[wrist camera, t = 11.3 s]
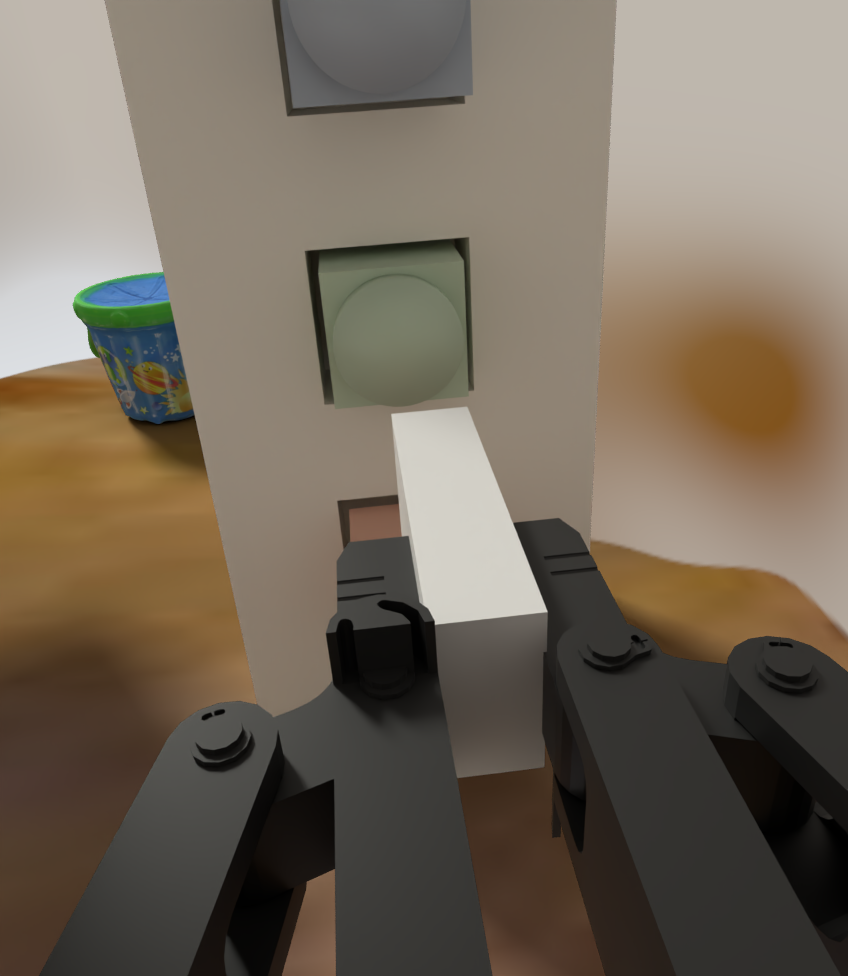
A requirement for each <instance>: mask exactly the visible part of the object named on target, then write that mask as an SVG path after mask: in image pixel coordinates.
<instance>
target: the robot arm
mask: <svg viewBox="0 0 848 976" xmlns="http://www.w3.org/2000/svg"><path fill="white" fill-rule="evenodd" d="M391 417H392V429H393V440H394V452H395V464H396V475H397V487H398V499H399V510H400V522H401V533H402V537H393V538H383V539H374V540H365V541H355V542H349V543H348V544H347V546H346V547H345V549H344V550H343V552H342V553H341V555H340V556H339V558H338V560H337V613H336V614H335V615H334V616H333V617H332V618H331V619H330V621H329V624H328V627H327V630H326V639H327V646H328V652H329V659H330V666H331V672H332V681H331V683H330V684H329V685H328V687H327V688H326V689H325V690H324V691H323V692H322V693H321V694H320V695H318V696H317V697H316V698H314V699H313V700H312V701H310V702H309V703H307V704H304V705H302V706H300V707H298V708H296V709H294V710H291V711H289V712H286V713H283V714H281V715H278V716H275V717H273V716H272V714H270V713H269V712H267V711H266V710H265V709H263V708H262V707H260V706H259V705H256V704H251V703H246V702H242V701H236V702H225V703H218V704H215V705H212V706H209V707H207V708H204V709H201V710H198V711H197V712H195V713H194V714H193V715H191V716H190V717H188V718H187V719H185V720H184V721H182V722H181V723H180V724H179V725H178V726H177V728H176V729H175V730H174V731H173V733H172V734H171V735H170V736H169V738H168V739H167V741H166V743H165V744H164V746H163V748H162V750H161V752H160V754H159V756H158V757H157V759H156V761H155V763H154V765H153V767H152V768H151V770H150V772H149V774H148V776H147V778H146V779H145V781H144V783H143V785H142V787H141V789H140V791H139V792H138V794H137V796H136V798H135V800H134V802H133V803H132V805H131V807H130V809H129V811H128V813H127V814H126V816H125V818H124V820H123V822H122V824H121V826H120V827H119V829H118V831H117V833H116V835H115V837H114V838H113V840H112V842H111V844H110V846H109V848H108V850H107V851H106V853H105V855H104V857H103V859H102V861H101V862H100V864H99V866H98V868H97V870H96V872H95V873H94V875H93V877H92V879H91V881H90V883H89V885H88V886H87V888H86V890H85V892H84V894H83V896H82V897H81V899H80V901H79V903H78V905H77V907H76V908H75V910H74V912H73V914H72V916H71V918H70V920H69V921H68V923H67V925H66V927H65V929H64V931H63V932H62V934H61V936H60V938H59V940H58V942H57V943H56V945H55V947H54V949H53V951H52V953H51V955H50V956H49V958H48V960H47V962H46V964H45V966H44V967H43V969H42V971H41V973H40V975H39V976H282V972H283V969H284V965H285V962H286V958H287V955H288V951H289V947H290V944H291V940H292V937H293V933H294V930H295V926H296V923H297V919H298V916H299V912H300V909H301V905H302V902H303V898H304V894H305V891H306V882H307V881H309V880H311V879H314V878H316V877H318V876H320V875H322V874H324V873H327V872H329V871H331V870H333V869H335V910H336V976H492V971H491V965H490V960H489V954H488V948H487V943H486V937H485V932H484V926H483V921H482V915H481V909H480V904H479V898H478V893H477V887H476V881H475V876H474V870H473V865H472V859H471V854H470V848H469V842H468V837H467V831H466V826H465V820H464V814H463V809H462V803H461V798H460V792H459V787H458V781H457V778H463V777H471V776H479V775H487V774H495V773H503V772H510V771H518V770H526V769H534V768H542V767H544V763H545V744H546V747H547V750H548V753H549V757H550V760H551V763H552V766H553V792H552V838H554V837H560V834H561V827H562V830H563V833H564V837H565V840H566V843H567V847H568V850H569V854H570V857H571V860H572V864H573V867H574V870H575V874H576V877H577V881H578V884H579V887H580V891H581V894H582V897H583V901H584V904H585V907H586V911H587V914H588V918H589V921H590V924H591V928H592V931H593V934H594V938H595V941H596V945H597V948H598V951H599V955H600V958H601V961H602V965H603V968H604V971H605V975H606V976H848V672H847V671H846V670H845V669H844V668H842V667H841V666H840V665H839V664H837V663H836V662H835V661H834V660H832V659H831V658H830V657H829V656H827V655H825V654H824V653H822V652H820V651H819V650H817V649H816V648H814V647H812V646H811V645H808V644H805V643H802V642H799V641H796V640H793V639H790V638H781V637H771V636H765V637H758V638H751V639H748V640H746V641H744V642H742V643H740V644H738V645H737V646H735V647H734V649H733V650H732V652H731V654H730V655H729V657H728V661H727V664H721V663H712V662H703V661H695V660H688V659H683V658H677V657H673V656H670V655H667V654H664V653H662V651H661V649H660V648H659V646H658V645H657V644H656V643H655V641H654V640H653V639H652V638H651V637H650V636H649V635H648V634H647V633H645V632H643V631H641V630H640V629H638V628H636V627H634V626H633V625H629V624H627V623H626V621H625V619H624V617H623V615H622V613H621V611H620V609H619V607H618V605H617V604H616V602H615V600H614V598H613V596H612V594H611V592H610V590H609V588H608V586H607V584H606V582H605V581H604V579H603V577H602V575H601V573H600V571H598V570H597V565H596V563H595V561H594V560H593V558H592V556H591V555H590V554H589V550H588V548H587V546H586V544H585V542H584V540H583V539H582V537H581V535H580V533H579V532H578V531H576V530H575V529H574V528H572V527H571V526H569V525H568V524H567V523H565V522H564V521H562V520H561V519H560V518H553V519H543V520H534V521H524V522H515V523H513V522H512V520H511V517H510V515H509V512H508V509H507V507H506V504H505V502H504V499H503V497H502V494H501V492H500V489H499V486H498V484H497V481H496V479H495V476H494V474H493V471H492V469H491V466H490V463H489V461H488V458H487V456H486V453H485V451H484V448H483V446H482V443H481V440H480V438H479V435H478V433H477V430H476V428H475V425H474V423H473V420H472V417H471V415H470V412H469V410H468V407H459V408H448V409H438V410H427V411H417V412H407V413H396V414H391Z"/></svg>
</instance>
